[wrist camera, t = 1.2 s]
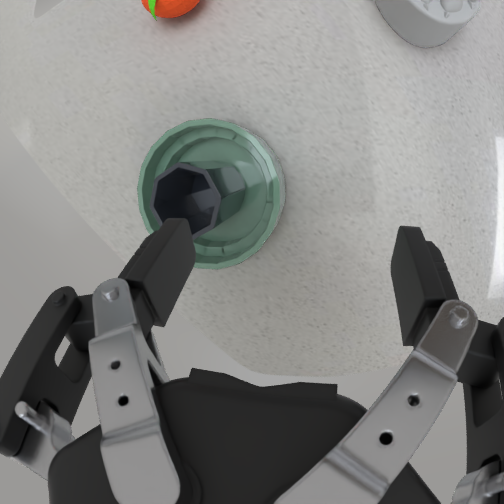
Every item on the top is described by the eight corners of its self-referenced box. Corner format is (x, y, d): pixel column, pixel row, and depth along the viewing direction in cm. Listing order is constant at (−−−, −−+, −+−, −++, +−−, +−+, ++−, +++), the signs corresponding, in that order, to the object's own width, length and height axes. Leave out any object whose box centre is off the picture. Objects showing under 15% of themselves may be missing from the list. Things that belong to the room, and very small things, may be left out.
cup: (236, 225, 32) (209, 249, 24) (186, 209, 32) (145, 226, 24) (252, 171, 30) (227, 175, 22) (198, 156, 30) (159, 157, 22)
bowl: (263, 270, 33) (254, 289, 29) (151, 230, 35) (128, 242, 30) (303, 144, 28) (300, 141, 24) (177, 113, 30) (154, 107, 25)
